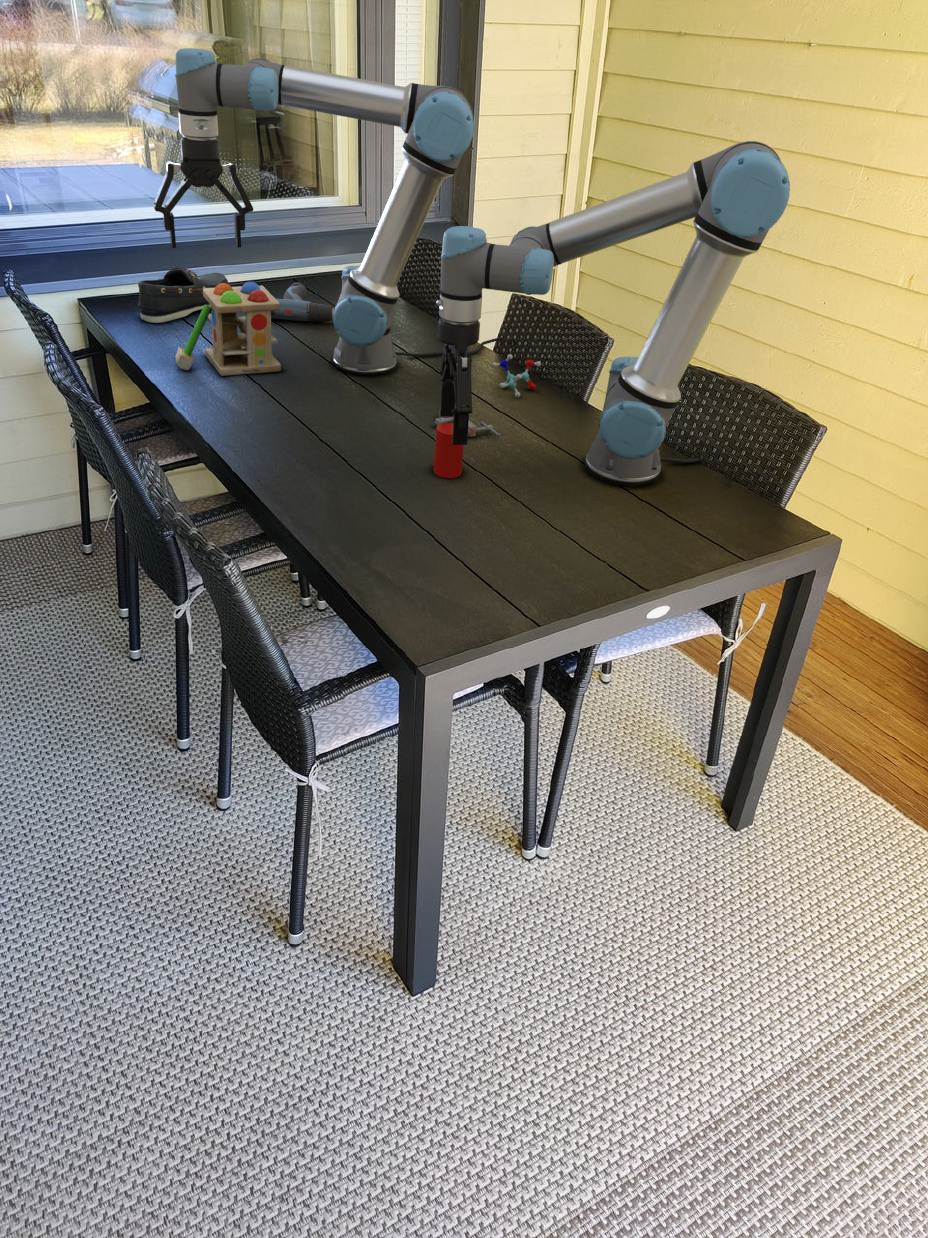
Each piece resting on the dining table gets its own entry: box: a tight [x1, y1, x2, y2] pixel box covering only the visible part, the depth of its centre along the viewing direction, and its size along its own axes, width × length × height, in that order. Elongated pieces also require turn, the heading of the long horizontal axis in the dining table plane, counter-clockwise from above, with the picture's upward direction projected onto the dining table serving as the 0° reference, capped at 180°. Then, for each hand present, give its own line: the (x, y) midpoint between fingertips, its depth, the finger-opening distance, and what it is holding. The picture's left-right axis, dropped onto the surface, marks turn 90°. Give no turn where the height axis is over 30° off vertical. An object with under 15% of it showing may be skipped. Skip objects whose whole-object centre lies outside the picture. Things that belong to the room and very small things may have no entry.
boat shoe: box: [137, 266, 230, 324], centre depth 260 cm, size 13×33×10 cm, turn 147°
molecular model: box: [491, 353, 542, 398], centre depth 230 cm, size 12×10×10 cm
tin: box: [432, 422, 465, 479], centre depth 191 cm, size 6×6×9 cm
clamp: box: [434, 407, 502, 438], centre depth 210 cm, size 15×2×10 cm
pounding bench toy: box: [174, 281, 282, 377], centre depth 225 cm, size 23×14×18 cm, turn 116°
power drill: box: [271, 282, 335, 322], centre depth 265 cm, size 5×19×20 cm
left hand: (206, 246), depth 210 cm, fingers open, 13 cm apart
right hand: (453, 429), depth 188 cm, fingers open, 13 cm apart
